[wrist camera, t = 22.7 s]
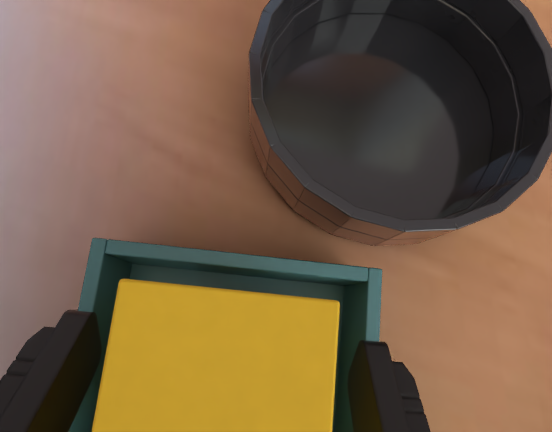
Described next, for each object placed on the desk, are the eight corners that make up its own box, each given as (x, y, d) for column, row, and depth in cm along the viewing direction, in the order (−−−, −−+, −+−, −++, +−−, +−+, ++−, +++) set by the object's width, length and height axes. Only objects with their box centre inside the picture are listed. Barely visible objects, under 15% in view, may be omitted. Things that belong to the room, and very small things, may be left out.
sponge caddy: (86, 472, 16) (32, 528, 12) (126, 252, 18) (91, 237, 14) (340, 492, 16) (370, 552, 12) (353, 276, 18) (382, 268, 14)
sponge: (168, 450, 16) (41, 696, 6) (191, 293, 17) (117, 277, 7) (272, 459, 16) (316, 710, 6) (286, 302, 17) (341, 300, 7)
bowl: (196, 98, 19) (183, 43, 15) (382, -29, 22) (415, -106, 18) (366, 303, 18) (402, 303, 14) (546, 143, 20) (623, 102, 16)
